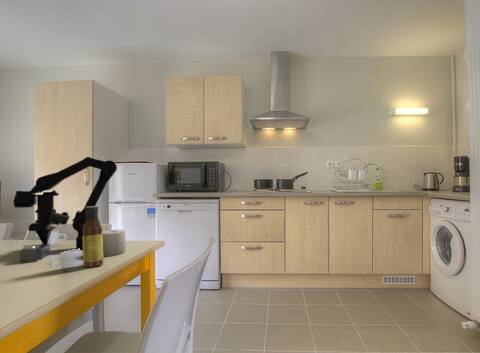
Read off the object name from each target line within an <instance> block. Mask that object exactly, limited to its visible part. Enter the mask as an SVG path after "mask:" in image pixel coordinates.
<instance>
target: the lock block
mask: <svg viewBox="0 0 480 353" xmlns="http://www.w3.org/2000/svg"><path fill="white" fill-rule="evenodd" d="M32 245H33V244H30V245H29V246H32ZM34 245H35V246H37V248H39V260H40V261H41V260H43V259H45V258H46V257H48V256H49V255H50V254H51V252H50V250H51V244H50V243H48V244H43V243H42V244H40V243H39V244H34ZM39 260H38V261H39Z"/></svg>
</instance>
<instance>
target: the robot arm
mask: <svg viewBox="0 0 480 353" xmlns="http://www.w3.org/2000/svg"><path fill="white" fill-rule="evenodd" d="M88 168H94V169H97V170H98V169H99V170H100V171H99V177H98V179H97V181H96V183H95V186H94V188H93V189H92V191H91V193H90V195H89V197H88V199H87V201H86V203H85V204H84V207H83V208H82V210H78V211H76V212H75V214H74V218H72V220H71V221H72V224H71V225H72V229H74V231H76V232H77V237H76V239H75V246H76V247H75V248H76V249H77V248H80V249H81V251H83V241H82V236H83V231H82V228H83V225H84V224H85V221H86V212H85V207H90V206H96V205H97V204H98V201H99V199H100V198H101V196H102V194H103V192H104V189H105V188H106V186H107V184H108V182H109V181H110V179H112V177H113V176H114V175H115V173H116V172H117V170H118V166H117V164H116V163H115V161H113V160H106V161H104V160H101V159H97V158H93V157H90V156H87V157H85V158H83V159H81V160H80V161H77V162H75V163H73V164H71V165H69V166H67V167H64V168H63V169H61V170H59V171H57V172H54V173H53V172H52V173H49V174H46V175H43V176H40V177H38V178H37V179H36V181H35V185H34V186H33V187H32V189H31V190H29V191H27V190H26V191H25V190H24V191H23V190H16V191H15V195H14V197H13V198H14V199H13V207H14V208H15V209H19V208H20V209H21V208H24V209H25V208H26V209H27V208H28V209H29V208H34V206H36V210H35V211H34V213H35V214H36V220H34V222H32V223H30V224H29V225H28V228H27V229H28V232H35V233H36V235H37V237H38V238H39V240H40V241H41V243H42V244H49V241H50V236H51V233H52V231H53V230H54V229H55V228H57V227H56V226H59V225H63V226H65V225H67V224H68V222H69V220H70V215H69V213H68V212H67V211H63V212H62V213H60V212H59V213H58V212H57V209H56V208H54V207H55V205H54V203H55V202H54V201H55V200H54V198H55V197H57V196H60V193H58V192H57V191H56V189H54V188H55V187H56V186H58V185H59V184H61V183H62V182H63V181H65V180H66V179H68V178H70V177H72V176H74V175H76V174H78V173H80V172H82V171H84V170H86V169H88ZM50 190H52V191H50ZM42 192H43V193H42ZM40 193H42V194H40ZM53 225H56V226H53Z"/></svg>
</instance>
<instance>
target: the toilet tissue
mask: <svg viewBox="0 0 480 353" xmlns="http://www.w3.org/2000/svg"><path fill="white" fill-rule="evenodd" d="M102 231H103V257H116V256H121V255H124V254H126V230H124V229H109V230H102Z"/></svg>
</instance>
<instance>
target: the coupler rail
mask: <svg viewBox="0 0 480 353" xmlns="http://www.w3.org/2000/svg"><path fill="white" fill-rule="evenodd" d="M31 245H32V246H30V245H25V246H23V247H22V249H19V250H20V251H19V263H22V264H23V263H35V262H36V263H37V262H38V261H39V248H37V246H35V245H36V244H31Z"/></svg>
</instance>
